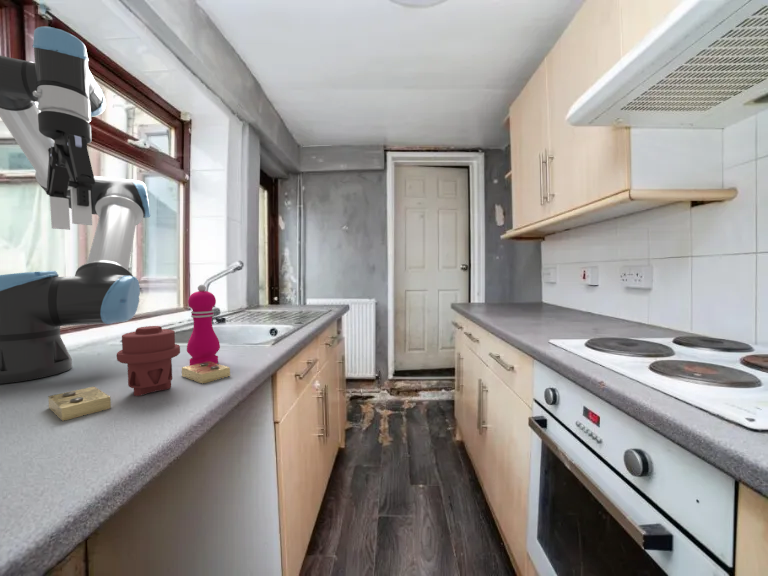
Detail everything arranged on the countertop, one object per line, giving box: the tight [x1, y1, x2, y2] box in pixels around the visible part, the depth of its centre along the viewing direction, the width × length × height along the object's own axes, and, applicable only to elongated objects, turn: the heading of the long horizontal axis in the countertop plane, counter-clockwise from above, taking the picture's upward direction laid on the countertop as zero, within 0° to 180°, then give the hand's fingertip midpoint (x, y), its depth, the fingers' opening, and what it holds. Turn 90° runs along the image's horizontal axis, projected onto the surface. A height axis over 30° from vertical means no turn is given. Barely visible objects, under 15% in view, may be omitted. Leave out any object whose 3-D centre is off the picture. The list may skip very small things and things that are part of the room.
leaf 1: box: [47, 386, 112, 422], centre depth 56 cm, size 9×6×2 cm, turn 55°
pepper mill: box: [186, 284, 221, 366], centre depth 82 cm, size 7×7×20 cm
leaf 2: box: [181, 362, 231, 385], centre depth 73 cm, size 9×6×2 cm, turn 55°
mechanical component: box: [116, 325, 181, 397], centre depth 64 cm, size 12×10×10 cm
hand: (71, 227), depth 66 cm, fingers open, 13 cm apart
